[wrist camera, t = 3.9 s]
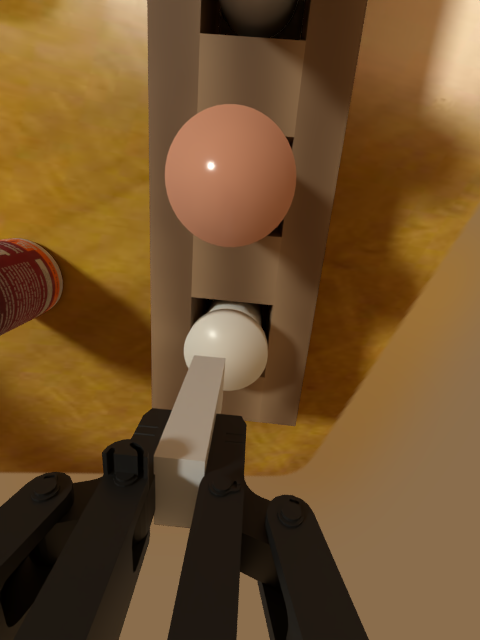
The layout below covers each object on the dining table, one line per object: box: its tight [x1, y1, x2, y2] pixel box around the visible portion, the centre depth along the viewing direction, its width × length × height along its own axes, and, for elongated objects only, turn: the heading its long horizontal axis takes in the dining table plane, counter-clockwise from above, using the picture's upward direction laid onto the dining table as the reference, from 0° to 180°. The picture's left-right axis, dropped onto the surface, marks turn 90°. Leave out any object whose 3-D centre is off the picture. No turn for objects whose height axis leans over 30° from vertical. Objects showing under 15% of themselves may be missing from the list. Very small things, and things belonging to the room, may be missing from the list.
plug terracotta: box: [165, 104, 296, 247], centre depth 16 cm, size 5×5×8 cm
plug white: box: [184, 299, 268, 391], centre depth 23 cm, size 5×5×8 cm
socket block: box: [147, 0, 367, 426], centre depth 21 cm, size 10×30×6 cm, turn 175°
